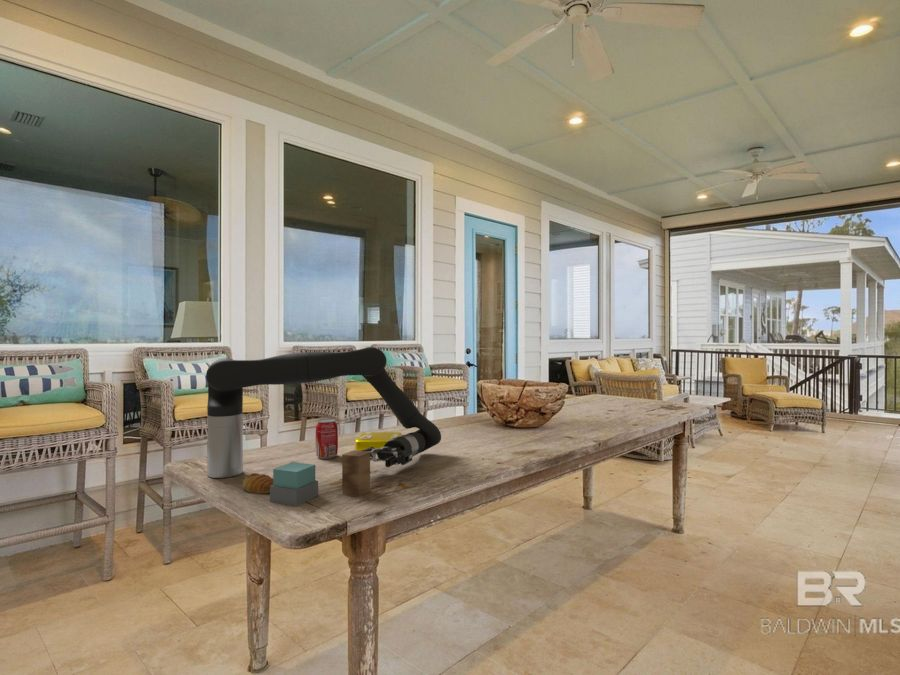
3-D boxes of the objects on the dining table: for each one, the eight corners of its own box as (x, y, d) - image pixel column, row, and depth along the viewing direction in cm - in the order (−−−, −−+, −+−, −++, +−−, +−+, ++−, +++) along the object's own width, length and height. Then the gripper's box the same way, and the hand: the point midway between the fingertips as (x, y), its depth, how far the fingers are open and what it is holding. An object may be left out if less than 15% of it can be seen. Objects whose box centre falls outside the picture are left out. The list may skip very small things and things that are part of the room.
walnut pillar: (342, 494, 123) (342, 454, 123) (353, 488, 127) (353, 450, 127) (359, 496, 121) (359, 456, 121) (370, 490, 125) (370, 451, 125)
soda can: (324, 453, 165) (324, 418, 165) (342, 455, 162) (342, 419, 162) (311, 458, 158) (311, 421, 158) (329, 460, 156) (329, 422, 156)
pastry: (283, 490, 127) (283, 475, 127) (260, 497, 121) (260, 482, 121) (261, 484, 132) (261, 469, 132) (238, 490, 126) (238, 476, 126)
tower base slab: (269, 502, 118) (269, 486, 118) (292, 492, 125) (292, 477, 125) (296, 507, 114) (296, 490, 114) (318, 496, 122) (318, 480, 122)
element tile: (398, 453, 166) (398, 439, 166) (353, 453, 166) (353, 439, 166) (402, 443, 181) (402, 430, 181) (362, 443, 181) (362, 430, 181)
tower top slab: (273, 485, 118) (273, 468, 118) (292, 477, 124) (292, 462, 124) (296, 488, 115) (296, 471, 115) (315, 480, 122) (315, 464, 122)
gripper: (380, 434, 149) (350, 445, 134) (422, 438, 143) (396, 450, 128) (380, 459, 149) (350, 472, 134) (422, 463, 143) (396, 478, 129)
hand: (372, 461), depth 131 cm, fingers open, 8 cm apart
